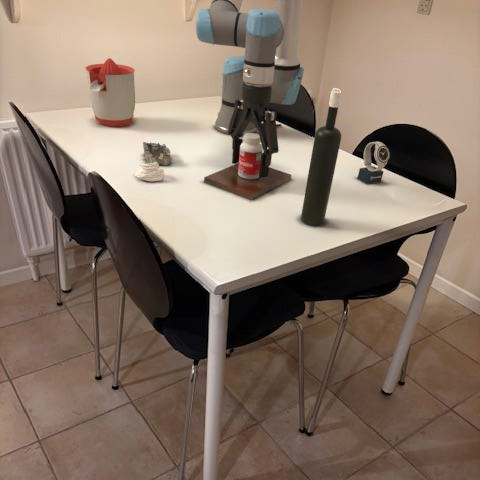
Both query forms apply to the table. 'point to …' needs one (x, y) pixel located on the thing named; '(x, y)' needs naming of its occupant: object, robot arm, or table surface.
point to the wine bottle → (322, 166)
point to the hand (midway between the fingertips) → (249, 169)
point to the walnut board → (246, 182)
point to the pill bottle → (250, 156)
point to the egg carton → (156, 153)
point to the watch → (370, 172)
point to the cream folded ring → (150, 172)
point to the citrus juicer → (112, 93)
